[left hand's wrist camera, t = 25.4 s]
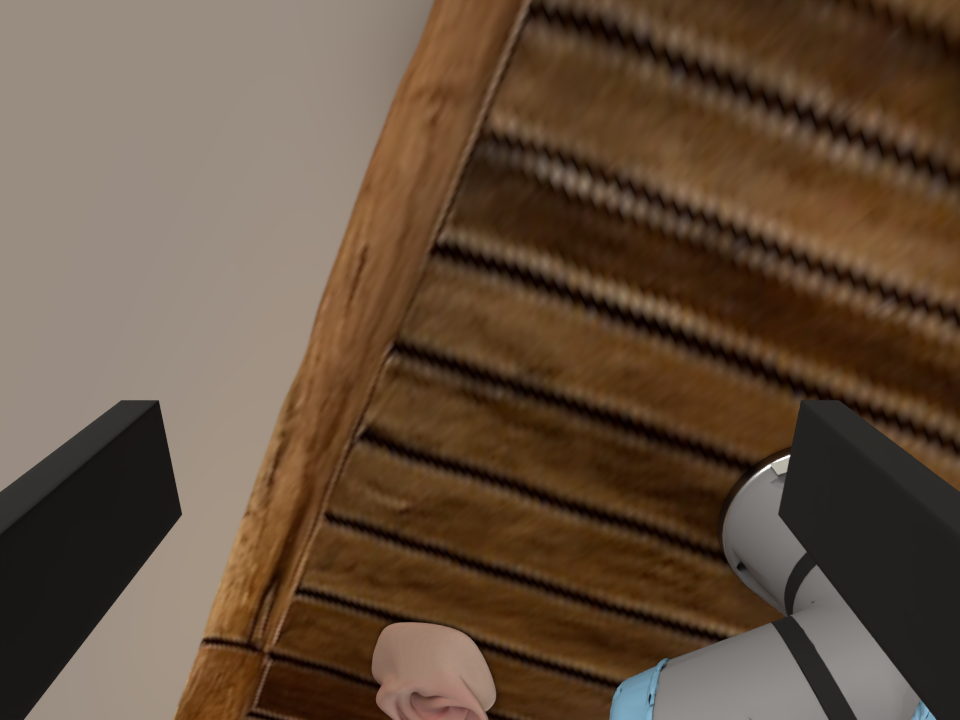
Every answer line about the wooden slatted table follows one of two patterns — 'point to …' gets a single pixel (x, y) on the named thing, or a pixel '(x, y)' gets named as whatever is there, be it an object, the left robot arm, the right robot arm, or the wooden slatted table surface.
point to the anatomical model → (431, 674)
